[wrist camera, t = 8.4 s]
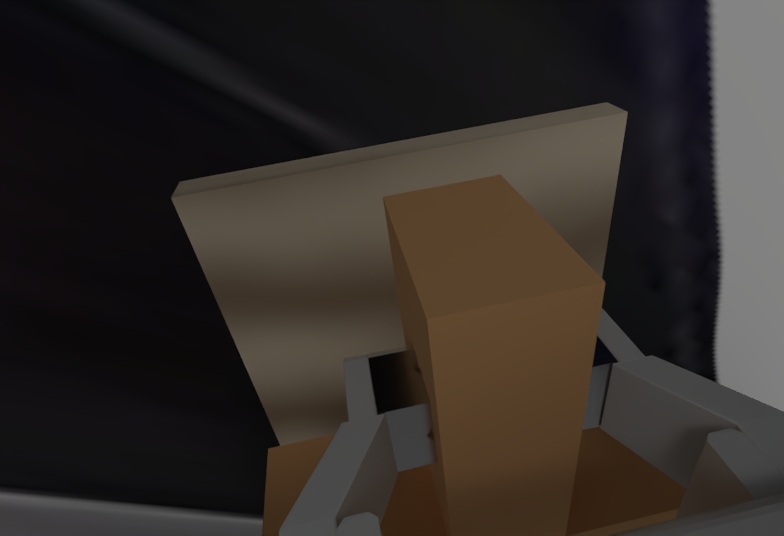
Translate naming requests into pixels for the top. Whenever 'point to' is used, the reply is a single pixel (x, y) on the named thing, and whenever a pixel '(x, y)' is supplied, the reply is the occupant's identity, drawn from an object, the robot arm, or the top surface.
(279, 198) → the stand
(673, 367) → the robot arm
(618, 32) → the top surface
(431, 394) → the wooden frame with handle
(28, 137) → the top surface
